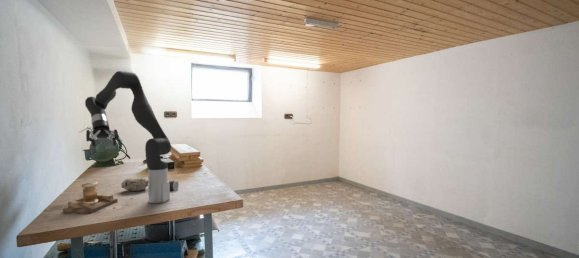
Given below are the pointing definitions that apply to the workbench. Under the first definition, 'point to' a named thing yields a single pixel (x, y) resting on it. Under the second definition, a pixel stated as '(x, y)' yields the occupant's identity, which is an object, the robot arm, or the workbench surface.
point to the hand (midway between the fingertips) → (104, 145)
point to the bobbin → (90, 192)
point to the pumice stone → (134, 184)
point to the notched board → (89, 204)
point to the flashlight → (173, 185)
